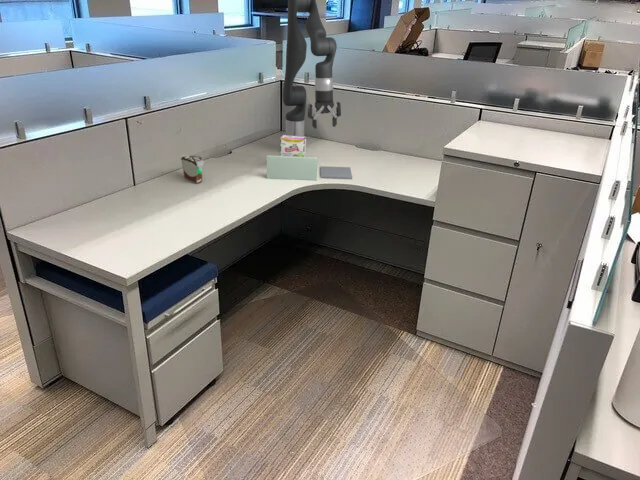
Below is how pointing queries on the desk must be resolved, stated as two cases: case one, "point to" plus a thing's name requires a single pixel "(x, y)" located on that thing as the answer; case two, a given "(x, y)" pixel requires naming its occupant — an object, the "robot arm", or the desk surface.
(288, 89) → the robot arm
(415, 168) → the desk surface
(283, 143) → the candy bar box
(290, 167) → the screen
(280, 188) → the desk surface
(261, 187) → the desk surface
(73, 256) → the desk surface
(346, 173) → the mat
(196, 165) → the food container
